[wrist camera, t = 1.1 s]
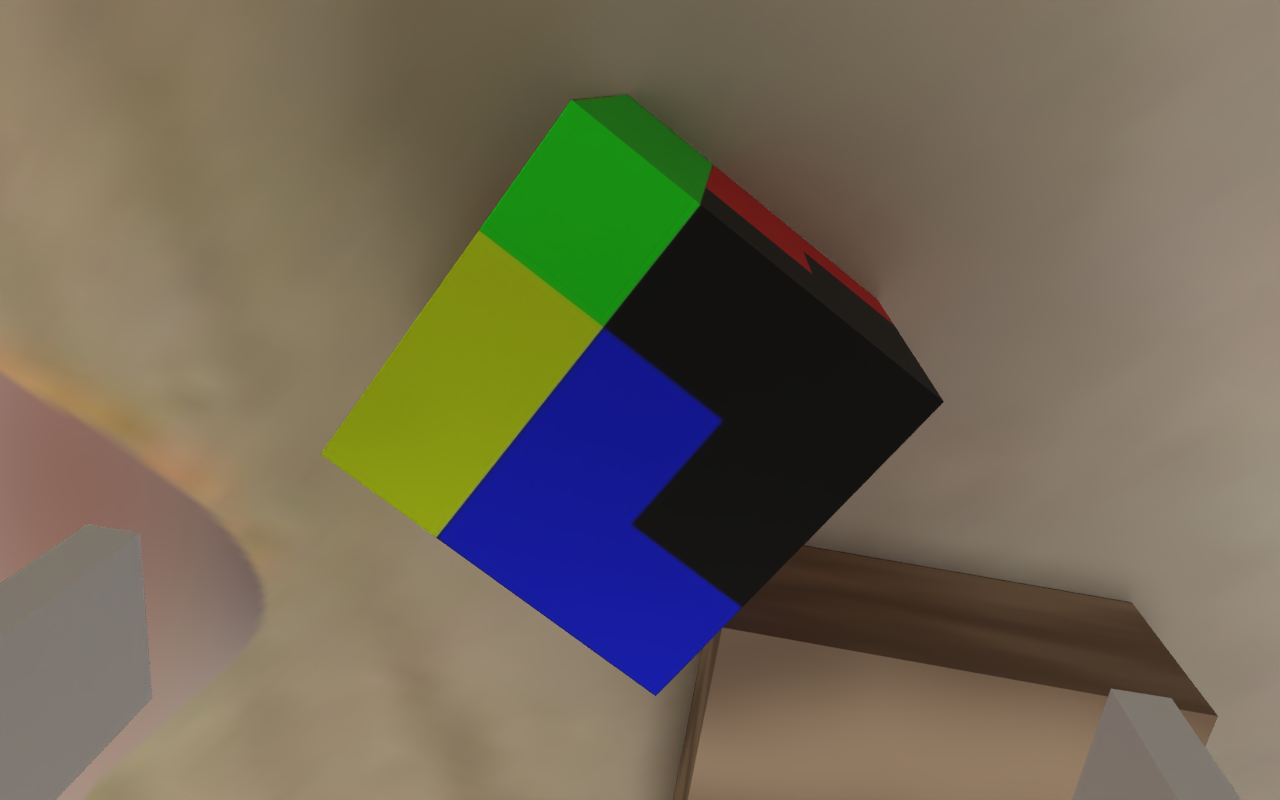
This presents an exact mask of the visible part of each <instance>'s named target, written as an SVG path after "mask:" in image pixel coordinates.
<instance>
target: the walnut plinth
mask: <svg viewBox="0 0 1280 800" xmlns="http://www.w3.org/2000/svg"><path fill="white" fill-rule="evenodd" d="M1111 689H1117V690H1123V691H1130V692H1136V693H1142V694H1148V695H1155V696H1161V697H1167V698H1172V700H1173V701H1174V703H1175V704H1176V706H1177V707H1178V708H1179V710H1180V711H1181V713H1182V714H1183V716H1184V717H1185V719H1186V720H1187V722H1188V723H1189V724H1190V726H1191V727H1192V729H1193V730H1194V732H1195V733H1196V735H1197V736H1198V737H1199V739H1200V740H1201V742H1202V743H1203V745H1204V746H1206V743H1207V741H1208V739H1209V736H1210V734H1211V731H1212V729H1213V727H1214V724H1215V722H1216V720H1217V717H1218V716H1217V714H1216V713H1215V712H1214V710H1213V709H1212V708H1211V707H1210V705H1209V704H1208V703H1207V701H1206V700H1205V699H1204V697H1203V696H1202V695H1201V693H1200V692H1199V691H1198V689H1197V688H1196V687H1195V685H1194V684H1193V683H1192V681H1191V680H1190V679H1189V678H1188V676H1187V675H1186V674H1185V672H1184V671H1183V670H1182V668H1181V667H1180V666H1179V664H1178V663H1177V662H1176V660H1175V659H1174V658H1173V656H1172V655H1171V654H1170V652H1169V651H1168V650H1167V649H1166V647H1165V646H1164V645H1163V643H1162V642H1161V641H1160V639H1159V638H1158V637H1157V635H1156V634H1155V633H1154V631H1153V630H1152V629H1151V627H1150V626H1149V625H1148V623H1147V622H1146V621H1145V620H1144V618H1143V617H1142V616H1141V614H1140V613H1139V612H1138V610H1137V609H1136V608H1135V606H1134V605H1133V604H1132V603H1129V602H1123V601H1117V600H1111V599H1106V598H1100V597H1094V596H1088V595H1083V594H1077V593H1071V592H1065V591H1060V590H1054V589H1048V588H1043V587H1037V586H1031V585H1025V584H1020V583H1014V582H1008V581H1002V580H997V579H991V578H985V577H979V576H974V575H968V574H962V573H956V572H951V571H945V570H939V569H933V568H928V567H922V566H916V565H911V564H905V563H899V562H893V561H888V560H882V559H876V558H870V557H865V556H859V555H853V554H847V553H842V552H836V551H830V550H824V549H819V548H813V547H807V546H802V547H801V548H800V549H799V550H798V551H797V552H796V553H795V554H794V555H793V556H792V557H791V558H790V559H789V560H788V561H787V562H786V563H785V564H784V565H783V566H782V568H781V569H780V570H779V571H778V572H777V573H776V574H775V575H774V576H773V577H772V578H771V579H770V580H769V581H768V582H767V583H766V584H765V585H764V586H763V587H762V588H761V589H760V590H759V591H758V592H757V593H756V594H755V595H754V596H753V597H752V598H751V599H750V600H749V601H748V602H747V603H746V604H745V605H744V606H743V607H742V608H741V609H740V610H739V611H738V612H737V614H736V615H735V616H734V617H733V618H732V619H731V620H730V621H729V622H728V623H727V624H726V625H725V626H724V627H723V628H722V629H721V630H720V631H719V632H718V633H717V634H716V635H715V636H714V637H713V638H712V639H711V640H710V641H709V642H708V643H707V644H706V645H705V646H704V647H703V648H702V653H701V658H700V663H699V669H698V674H697V679H696V684H695V689H694V694H693V700H692V705H691V710H690V715H689V720H688V725H687V731H686V736H685V741H684V746H683V751H682V757H681V762H680V767H679V772H678V777H677V782H676V788H675V793H674V798H673V800H1072V799H1073V796H1074V793H1075V790H1076V787H1077V784H1078V781H1079V779H1080V776H1081V773H1082V770H1083V767H1084V764H1085V761H1086V759H1087V756H1088V753H1089V750H1090V747H1091V744H1092V741H1093V738H1094V736H1095V733H1096V730H1097V727H1098V724H1099V721H1100V718H1101V716H1102V713H1103V710H1104V707H1105V704H1106V701H1107V698H1108V695H1109V693H1110V690H1111Z"/></svg>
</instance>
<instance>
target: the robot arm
mask: <svg viewBox="0 0 1280 800" xmlns="http://www.w3.org/2000/svg"><path fill="white" fill-rule="evenodd" d="M151 699H152V689H151V675H150V661H149V648H148V635H147V622H146V608H145V593H144V580H143V568H142V553H141V539H140V533H138V532H132V531H126V530H120V529H113V528H107V527H101V526H95V525H89V524H87V525H85V526H84V527H82V528H81V529H79V530H78V531H76V532H75V533H73V534H72V535H70V536H69V537H68V538H66V539H65V540H63V541H62V542H60V543H59V544H58V545H56V546H54V547H53V548H51V549H50V550H49V551H47V552H46V553H44V554H43V555H41V556H40V557H38V558H37V559H35V560H34V561H32V562H31V563H29V564H28V565H27V566H25V567H24V568H22V569H21V570H19V571H18V572H16V573H15V574H13V575H12V576H11V577H9V578H8V579H6V580H5V581H3V582H2V583H0V800H56V799H57V798H58V797H59V796H60V795H61V794H62V793H63V791H64V790H66V788H67V787H68V786H69V785H70V784H71V783H72V782H73V781H74V780H75V779H76V778H77V777H78V776H79V775H80V774H81V772H83V771H84V769H85V768H86V767H87V766H88V765H89V764H90V763H91V762H92V761H93V760H94V759H95V758H96V757H97V756H98V755H99V754H100V753H101V751H102V750H103V749H104V748H105V747H106V746H107V745H108V744H109V743H110V742H111V741H112V740H113V739H114V738H115V737H116V736H117V735H118V734H119V732H121V730H122V729H123V728H124V727H125V726H126V725H127V724H128V723H129V722H130V721H131V720H132V719H133V718H134V717H135V716H136V715H137V714H138V713H139V712H140V710H141V709H142V708H143V707H144V706H145V705H146V704H147V703H148V702H149V701H150V700H151ZM1072 800H1241V798H1240V797H1239V795H1238V794H1237V793H1236V791H1235V790H1234V788H1233V787H1232V785H1231V784H1230V782H1229V781H1228V779H1227V778H1226V777H1225V775H1224V774H1223V772H1222V771H1221V769H1220V768H1219V766H1218V765H1217V764H1216V762H1215V761H1214V759H1213V758H1212V756H1211V755H1210V753H1209V752H1208V750H1207V749H1206V748H1205V746H1204V745H1203V743H1202V742H1201V740H1200V739H1199V737H1198V736H1197V735H1196V733H1195V732H1194V730H1193V729H1192V727H1191V726H1190V724H1189V723H1188V722H1187V720H1186V719H1185V717H1184V716H1183V714H1182V713H1181V711H1180V710H1179V708H1178V707H1177V706H1176V704H1175V703H1174V701H1173V700H1172V698H1167V697H1161V696H1155V695H1148V694H1142V693H1136V692H1130V691H1123V690H1117V689H1111V690H1110V693H1109V695H1108V698H1107V701H1106V704H1105V707H1104V710H1103V713H1102V716H1101V718H1100V721H1099V724H1098V727H1097V730H1096V733H1095V736H1094V738H1093V741H1092V744H1091V747H1090V750H1089V753H1088V756H1087V759H1086V761H1085V764H1084V767H1083V770H1082V773H1081V776H1080V779H1079V781H1078V784H1077V787H1076V790H1075V793H1074V796H1073V799H1072Z"/></svg>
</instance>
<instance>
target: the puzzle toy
mask: <svg viewBox="0 0 1280 800" xmlns="http://www.w3.org/2000/svg"><path fill="white" fill-rule="evenodd" d="M943 402H944V401H943V400H942V398H941V397H940V395H939V394H938V392H937V391H936V389H935V388H934V386H933V384H932V383H931V381H930V380H929V378H928V377H927V375H926V374H925V372H924V371H923V369H922V367H921V366H920V364H919V363H918V361H917V360H916V358H915V357H914V355H913V354H912V352H911V351H910V349H909V347H908V346H907V344H906V343H905V341H904V340H903V338H902V337H901V335H900V334H899V332H898V330H897V329H896V327H895V326H894V324H893V323H892V321H891V320H890V318H889V317H888V315H887V314H886V312H885V310H884V309H883V307H882V306H881V304H880V303H879V301H878V300H877V299H876V298H875V297H874V296H872V295H871V294H870V293H869V292H867V291H866V290H865V289H864V288H863V287H861V286H860V285H859V284H858V283H856V282H855V281H854V280H853V279H852V278H850V277H849V276H848V275H847V274H845V273H844V272H843V271H842V270H841V269H839V268H838V267H837V266H836V265H834V264H833V263H832V262H831V261H830V260H828V259H827V258H826V257H825V256H824V255H822V254H821V253H820V252H819V251H817V250H816V249H815V248H814V247H813V246H811V245H810V244H809V243H808V242H806V241H805V240H804V239H803V238H802V237H800V236H799V235H798V234H797V233H795V232H794V231H793V230H792V229H791V228H789V227H788V226H787V225H786V224H784V223H783V222H782V221H781V220H780V219H778V218H777V217H776V216H775V215H774V214H772V213H771V212H770V211H769V210H767V209H766V208H765V207H764V206H763V205H761V204H760V203H759V202H758V201H756V200H755V199H754V198H753V197H752V196H750V195H749V194H748V193H747V192H745V191H744V190H743V189H742V188H741V187H739V186H738V185H737V184H736V183H734V182H733V181H732V180H731V179H730V178H728V177H727V176H726V175H725V174H724V173H722V172H721V171H720V170H719V169H717V168H716V167H715V166H714V165H713V164H711V163H710V162H709V161H708V160H706V159H705V158H704V157H703V156H702V155H700V154H699V153H698V152H697V151H695V150H694V149H693V148H692V147H691V146H689V145H688V144H687V143H686V142H684V141H683V140H682V139H681V138H680V137H678V136H677V135H676V134H675V133H674V132H672V131H671V130H670V129H669V128H667V127H666V126H665V125H664V124H663V123H661V122H660V121H659V120H658V119H656V118H655V117H654V116H653V115H652V114H650V113H649V112H648V111H647V110H645V109H644V108H643V107H642V106H641V105H639V104H638V103H637V102H636V101H634V100H633V99H632V98H631V97H630V96H628V95H627V94H626V95H615V96H605V97H594V98H583V99H573V100H571V101H570V102H569V104H568V105H567V107H566V108H565V109H564V111H563V112H562V114H561V115H560V116H559V118H558V119H557V121H556V122H555V124H554V125H553V126H552V128H551V129H550V131H549V132H548V133H547V135H546V136H545V138H544V139H543V140H542V142H541V143H540V145H539V146H538V148H537V149H536V150H535V152H534V153H533V155H532V156H531V157H530V159H529V160H528V162H527V163H526V165H525V166H524V167H523V169H522V170H521V172H520V173H519V174H518V176H517V177H516V179H515V180H514V181H513V183H512V184H511V186H510V187H509V189H508V190H507V191H506V193H505V194H504V196H503V197H502V198H501V200H500V201H499V203H498V204H497V205H496V207H495V208H494V210H493V211H492V213H491V214H490V215H489V217H488V218H487V220H486V221H485V222H484V224H483V225H482V227H481V228H480V230H479V231H478V232H477V234H476V235H475V237H474V238H473V239H472V241H471V242H470V244H469V245H468V246H467V248H466V249H465V251H464V252H463V254H462V255H461V256H460V258H459V259H458V261H457V262H456V263H455V265H454V266H453V268H452V269H451V271H450V272H449V273H448V275H447V276H446V278H445V279H444V280H443V282H442V283H441V285H440V286H439V287H438V289H437V290H436V292H435V293H434V295H433V296H432V297H431V299H430V300H429V302H428V303H427V304H426V306H425V307H424V309H423V310H422V311H421V313H420V314H419V316H418V317H417V319H416V320H415V321H414V323H413V324H412V326H411V327H410V328H409V330H408V331H407V333H406V334H405V336H404V337H403V338H402V340H401V341H400V343H399V344H398V345H397V347H396V348H395V350H394V351H393V352H392V354H391V355H390V357H389V358H388V360H387V361H386V362H385V364H384V365H383V367H382V368H381V369H380V371H379V372H378V374H377V375H376V377H375V378H374V379H373V381H372V382H371V384H370V385H369V386H368V388H367V389H366V391H365V392H364V393H363V395H362V396H361V398H360V399H359V401H358V402H357V403H356V405H355V406H354V408H353V409H352V410H351V412H350V413H349V415H348V416H347V417H346V419H345V420H344V422H343V423H342V425H341V426H340V427H339V429H338V430H337V432H336V433H335V434H334V436H333V437H332V439H331V440H330V442H329V443H328V444H327V446H326V447H325V449H324V450H323V451H322V453H321V455H323V456H324V457H325V458H327V459H328V460H329V461H331V462H332V463H334V464H335V465H336V466H338V467H339V468H341V469H342V470H343V471H345V472H346V473H347V474H349V475H350V476H352V477H353V478H354V479H356V480H357V481H359V482H360V483H361V484H363V485H364V486H365V487H367V488H368V489H370V490H371V491H372V492H374V493H375V494H377V495H378V496H379V497H381V498H382V499H383V500H385V501H386V502H388V503H389V504H390V505H392V506H393V507H395V508H396V509H397V510H399V511H400V512H401V513H403V514H404V515H406V516H407V517H408V518H410V519H411V520H413V521H414V522H415V523H417V524H418V525H419V526H421V527H422V528H424V529H425V530H426V531H428V532H429V533H431V534H432V535H433V536H435V537H436V538H437V539H439V540H440V541H442V542H443V543H444V544H446V545H447V546H449V547H450V548H451V549H453V550H454V551H455V552H457V553H458V554H460V555H461V556H462V557H464V558H465V559H467V560H468V561H469V562H471V563H472V564H474V565H475V566H476V567H478V568H479V569H480V570H482V571H483V572H485V573H486V574H487V575H489V576H490V577H492V578H493V579H494V580H496V581H497V582H498V583H500V584H501V585H503V586H504V587H505V588H507V589H508V590H510V591H511V592H512V593H514V594H515V595H516V596H518V597H519V598H521V599H522V600H523V601H525V602H526V603H528V604H529V605H530V606H532V607H533V608H534V609H536V610H537V611H539V612H540V613H541V614H543V615H544V616H546V617H547V618H548V619H550V620H551V621H552V622H554V623H555V624H557V625H558V626H559V627H561V628H562V629H564V630H565V631H566V632H568V633H569V634H570V635H572V636H573V637H575V638H576V639H577V640H579V641H580V642H582V643H583V644H584V645H586V646H587V647H588V648H590V649H591V650H593V651H594V652H595V653H597V654H598V655H600V656H601V657H602V658H604V659H605V660H606V661H608V662H609V663H611V664H612V665H613V666H615V667H616V668H618V669H619V670H620V671H622V672H623V673H624V674H626V675H627V676H629V677H630V678H631V679H633V680H634V681H636V682H637V683H638V684H640V685H641V686H642V687H644V688H645V689H647V690H648V691H649V692H651V693H652V694H654V695H655V696H656V695H657V694H658V693H659V692H660V691H661V690H662V689H663V688H664V687H665V686H666V685H667V684H668V683H669V682H670V681H671V680H672V679H673V678H674V677H675V676H676V675H677V674H678V673H679V672H680V671H681V670H682V669H683V668H684V667H685V666H686V665H687V664H688V663H689V662H690V661H691V660H692V658H693V657H694V656H695V655H696V654H697V653H698V652H699V651H700V650H701V649H702V648H703V647H704V646H705V645H706V644H707V643H708V642H709V641H710V640H711V639H712V638H713V637H714V636H715V635H716V634H717V633H718V632H719V631H720V630H721V629H722V628H723V627H724V626H725V625H726V624H727V623H728V622H729V621H730V620H731V619H732V618H733V617H734V616H735V615H736V614H737V612H738V611H739V610H740V609H741V608H742V607H743V606H744V605H745V604H746V603H747V602H748V601H749V600H750V599H751V598H752V597H753V596H754V595H755V594H756V593H757V592H758V591H759V590H760V589H761V588H762V587H763V586H764V585H765V584H766V583H767V582H768V581H769V580H770V579H771V578H772V577H773V576H774V575H775V574H776V573H777V572H778V571H779V570H780V569H781V568H782V566H783V565H784V564H785V563H786V562H787V561H788V560H789V559H790V558H791V557H792V556H793V555H794V554H795V553H796V552H797V551H798V550H799V549H800V548H801V547H802V546H803V545H804V544H805V543H806V542H807V541H808V540H809V539H810V538H811V537H812V536H813V535H814V534H815V533H816V532H817V531H818V530H819V529H820V528H821V527H822V526H823V525H824V524H825V523H826V522H827V520H828V519H829V518H830V517H831V516H832V515H833V514H834V513H835V512H836V511H837V510H838V509H839V508H840V507H841V506H842V505H843V504H844V503H845V502H846V501H847V500H848V499H849V498H850V497H851V496H852V495H853V494H854V493H855V492H856V491H857V490H858V489H859V488H860V487H861V486H862V485H863V484H864V483H865V482H866V481H867V480H868V479H869V478H870V477H871V476H872V474H873V473H874V472H875V471H876V470H877V469H878V468H879V467H880V466H881V465H882V464H883V463H884V462H885V461H886V460H887V459H888V458H889V457H890V456H891V455H892V454H893V453H894V452H895V451H896V450H897V449H898V448H899V447H900V446H901V445H902V444H903V443H904V442H905V441H906V440H907V439H908V438H909V437H910V436H911V435H912V434H913V433H914V432H915V431H916V430H917V428H918V427H919V426H920V425H921V424H922V423H923V422H924V421H925V420H926V419H927V418H928V417H929V416H930V415H931V414H932V413H933V412H934V411H935V410H936V409H937V408H938V407H939V406H940V405H941V404H942V403H943Z"/></svg>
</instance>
